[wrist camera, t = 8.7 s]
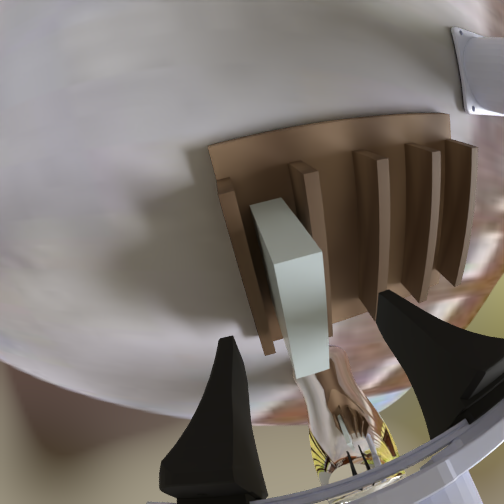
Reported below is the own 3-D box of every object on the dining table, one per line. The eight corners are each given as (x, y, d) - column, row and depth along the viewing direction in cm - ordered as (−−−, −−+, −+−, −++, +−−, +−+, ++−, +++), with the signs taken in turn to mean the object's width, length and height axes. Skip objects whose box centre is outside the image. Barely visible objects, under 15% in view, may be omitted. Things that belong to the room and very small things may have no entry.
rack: (440, 112, 16) (477, 120, 13) (432, 278, 24) (455, 301, 21) (208, 145, 16) (207, 155, 12) (261, 335, 24) (269, 371, 20)
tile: (281, 197, 17) (322, 251, 11) (298, 297, 21) (329, 368, 15) (249, 205, 17) (273, 264, 11) (272, 304, 21) (296, 378, 15)
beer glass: (300, 342, 25) (355, 492, 12) (361, 342, 27) (425, 464, 14) (278, 385, 28) (312, 512, 15) (334, 383, 30) (377, 492, 17)
